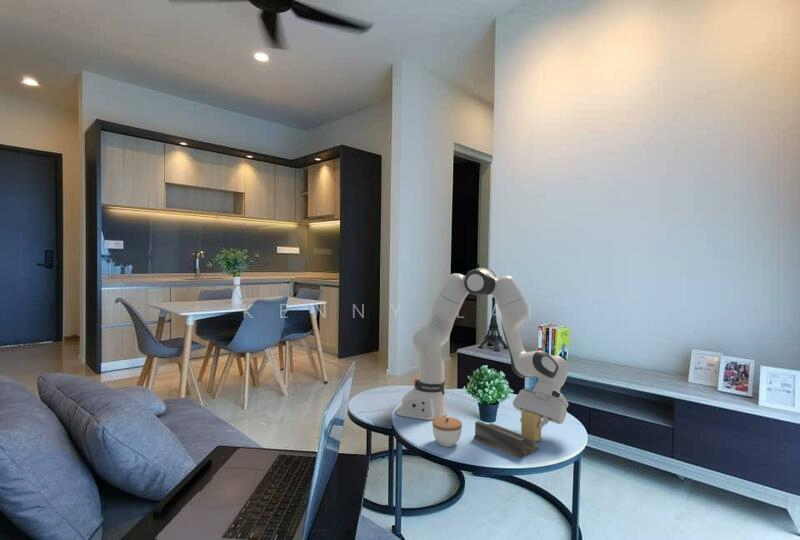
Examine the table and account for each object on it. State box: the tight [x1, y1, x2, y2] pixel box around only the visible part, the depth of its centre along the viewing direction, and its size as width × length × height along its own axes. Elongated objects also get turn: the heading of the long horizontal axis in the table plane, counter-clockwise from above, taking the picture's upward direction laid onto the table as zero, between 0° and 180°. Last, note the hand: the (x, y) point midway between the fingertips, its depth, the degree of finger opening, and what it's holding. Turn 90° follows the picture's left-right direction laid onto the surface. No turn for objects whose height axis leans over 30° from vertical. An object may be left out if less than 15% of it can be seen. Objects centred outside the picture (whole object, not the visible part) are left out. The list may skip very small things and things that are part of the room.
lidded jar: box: [431, 416, 463, 448], centre depth 148 cm, size 11×11×9 cm
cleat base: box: [473, 420, 539, 459], centre depth 148 cm, size 11×20×6 cm, turn 39°
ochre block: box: [520, 411, 542, 442], centre depth 152 cm, size 4×6×9 cm
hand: (530, 425), depth 152 cm, fingers closed on ochre block, 5 cm apart
